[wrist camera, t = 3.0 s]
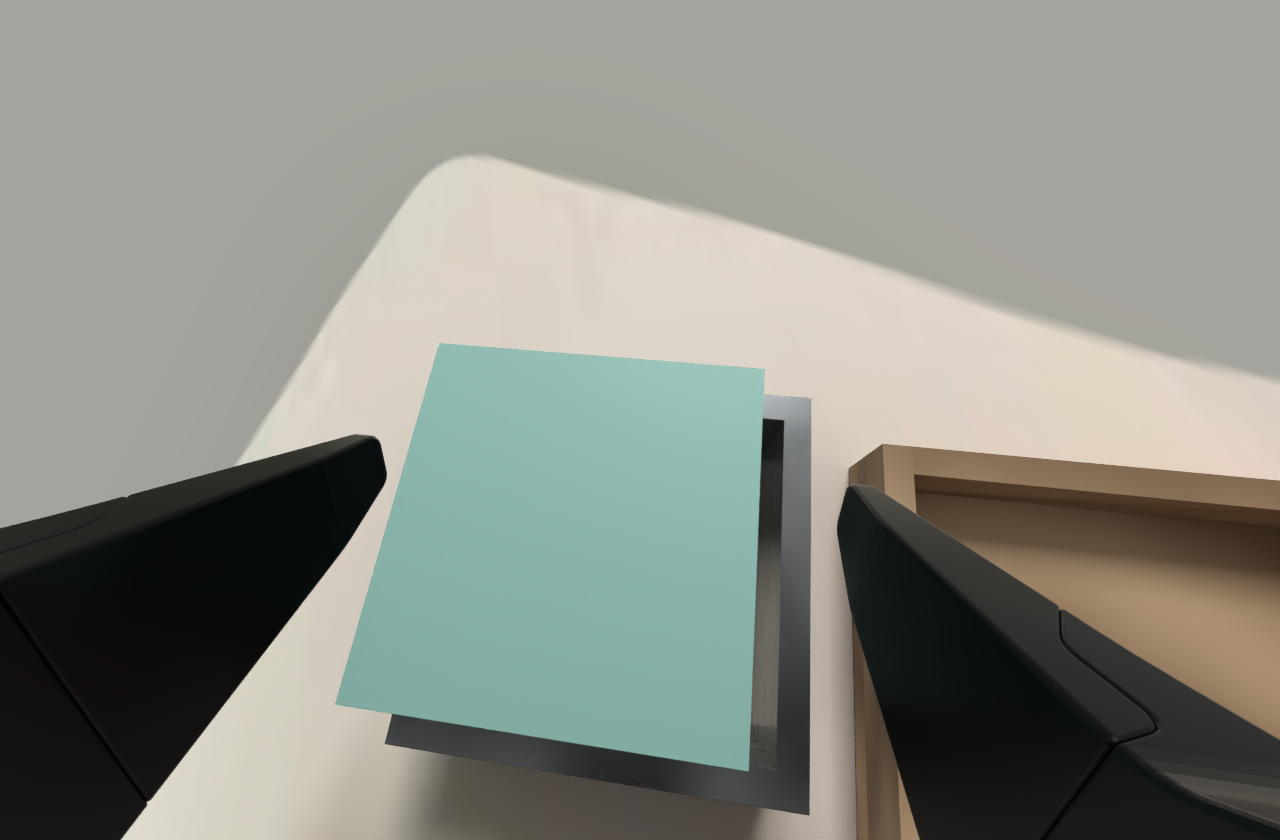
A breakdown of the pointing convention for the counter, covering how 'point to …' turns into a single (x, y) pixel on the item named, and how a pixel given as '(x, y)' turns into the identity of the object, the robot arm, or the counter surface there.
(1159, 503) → the tray
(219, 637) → the robot arm
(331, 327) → the counter surface
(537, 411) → the block
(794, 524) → the holder
